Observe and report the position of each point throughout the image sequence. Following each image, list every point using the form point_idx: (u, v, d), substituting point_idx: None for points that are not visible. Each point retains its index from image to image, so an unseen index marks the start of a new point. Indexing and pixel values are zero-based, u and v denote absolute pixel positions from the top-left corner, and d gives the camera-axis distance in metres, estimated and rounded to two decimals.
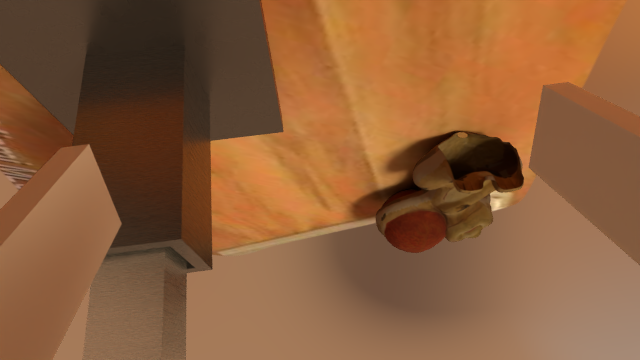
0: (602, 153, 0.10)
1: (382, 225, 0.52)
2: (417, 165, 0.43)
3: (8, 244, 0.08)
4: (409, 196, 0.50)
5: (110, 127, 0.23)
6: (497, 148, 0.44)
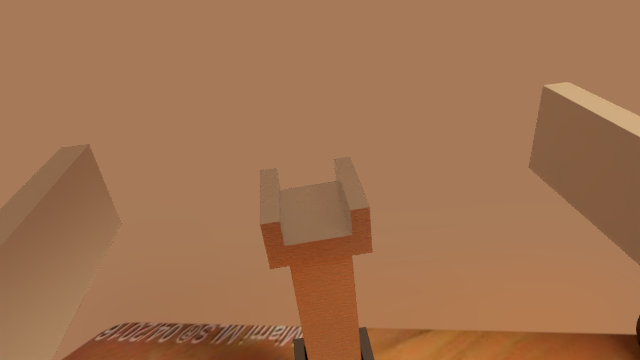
0: (602, 153, 0.10)
1: None
2: None
3: (8, 244, 0.08)
4: None
5: None
6: None
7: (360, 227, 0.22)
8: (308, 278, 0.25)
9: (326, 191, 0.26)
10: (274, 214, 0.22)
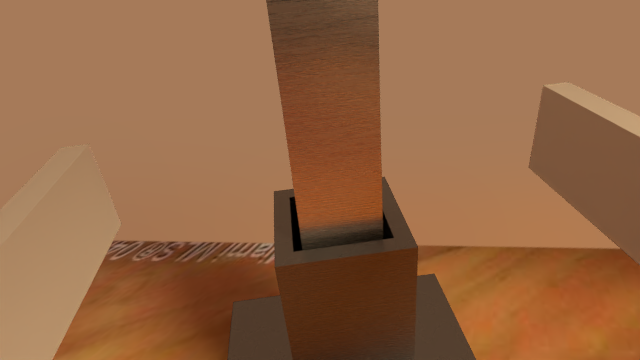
0: (602, 153, 0.10)
1: None
2: None
3: (8, 244, 0.08)
4: None
5: None
6: None
7: None
8: None
9: None
10: None
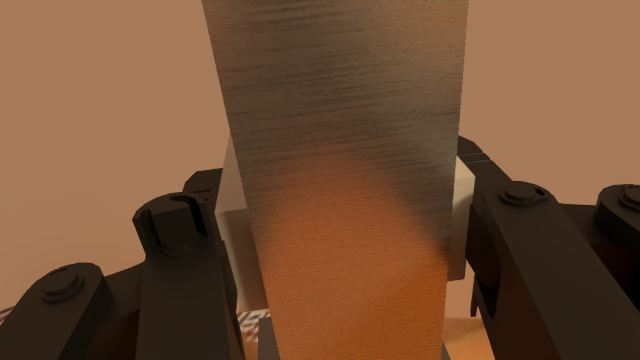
0: None
1: None
2: None
3: None
4: None
5: None
6: None
7: None
8: (273, 7, 0.06)
9: None
10: None
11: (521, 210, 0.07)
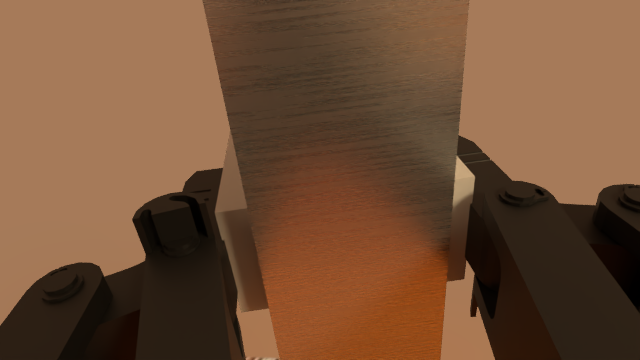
0: None
1: None
2: None
3: None
4: None
5: None
6: None
7: None
8: (273, 7, 0.06)
9: None
10: None
11: (521, 210, 0.07)
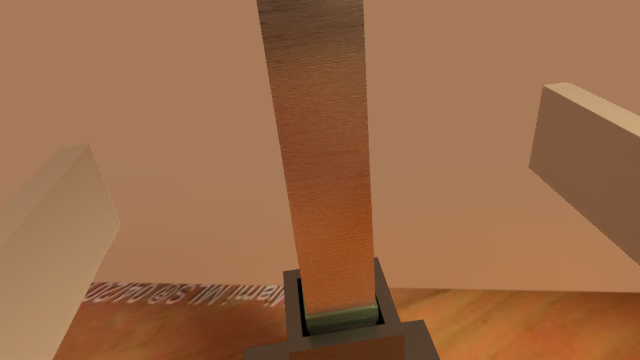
0: (602, 153, 0.10)
1: None
2: None
3: (8, 244, 0.08)
4: None
5: None
6: None
7: None
8: None
9: None
10: None
11: None
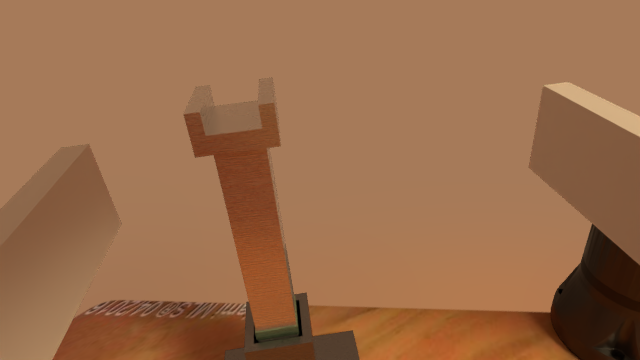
0: (602, 153, 0.10)
1: None
2: None
3: (8, 244, 0.08)
4: None
5: None
6: None
7: (268, 121, 0.27)
8: (231, 173, 0.29)
9: (251, 105, 0.31)
10: (196, 109, 0.26)
11: None
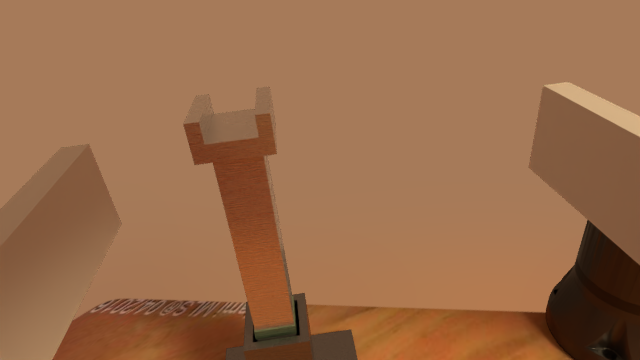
0: (602, 153, 0.10)
1: None
2: None
3: (8, 244, 0.08)
4: None
5: (313, 354, 0.45)
6: None
7: (264, 130, 0.28)
8: (229, 180, 0.31)
9: (249, 114, 0.32)
10: (196, 118, 0.28)
11: None
